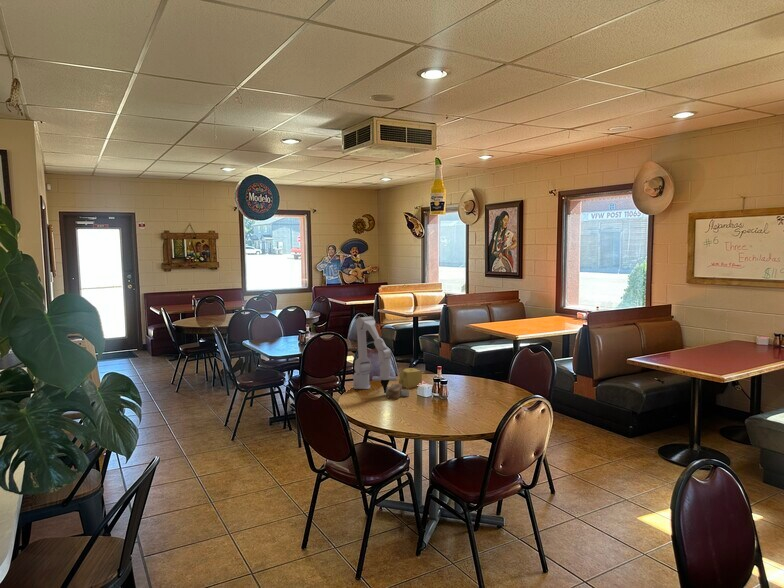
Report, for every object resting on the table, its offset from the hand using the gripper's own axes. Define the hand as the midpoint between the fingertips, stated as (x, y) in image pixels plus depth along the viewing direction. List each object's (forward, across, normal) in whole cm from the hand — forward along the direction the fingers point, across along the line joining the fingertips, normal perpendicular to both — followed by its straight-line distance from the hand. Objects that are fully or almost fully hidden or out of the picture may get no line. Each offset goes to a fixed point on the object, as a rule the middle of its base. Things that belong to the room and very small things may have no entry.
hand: (385, 392), depth 314 cm
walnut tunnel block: (+1, +6, 0) cm, 6 cm away
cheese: (+2, +12, +23) cm, 26 cm away
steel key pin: (+1, +7, 0) cm, 8 cm away
